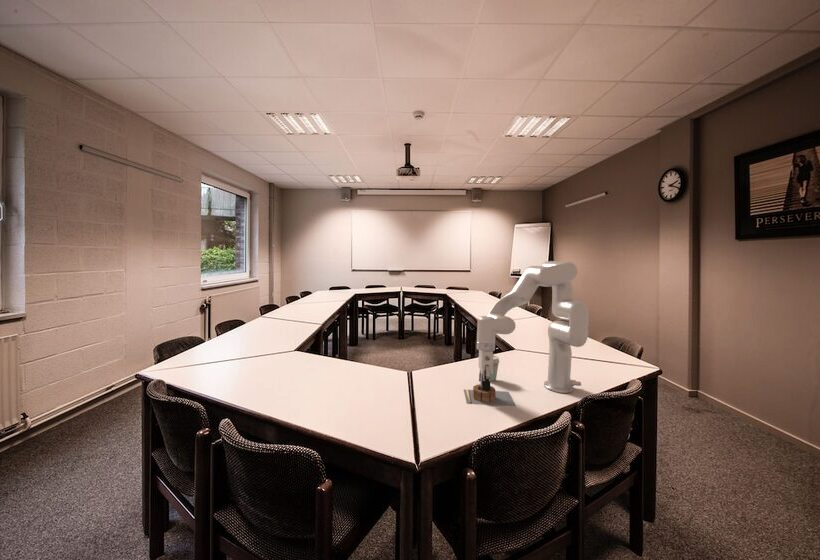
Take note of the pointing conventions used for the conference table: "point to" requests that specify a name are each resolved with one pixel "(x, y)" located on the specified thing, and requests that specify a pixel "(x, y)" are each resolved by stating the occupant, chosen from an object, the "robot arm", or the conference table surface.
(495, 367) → the coffee cup
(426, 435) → the conference table surface
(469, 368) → the conference table surface
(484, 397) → the brown wooden ring
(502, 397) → the mat
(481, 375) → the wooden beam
